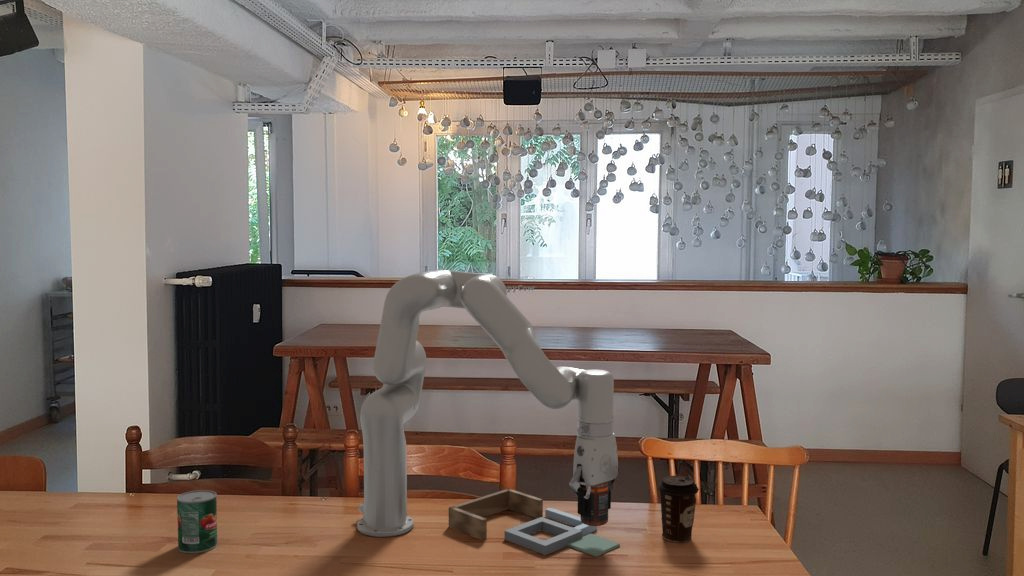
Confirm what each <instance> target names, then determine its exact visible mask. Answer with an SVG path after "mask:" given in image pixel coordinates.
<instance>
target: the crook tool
mask: <svg viewBox="0 0 1024 576" xmlns="http://www.w3.org/2000/svg"><path fill="white" fill-rule="evenodd" d="M544 512H545V513H544V514H545V515H544V516H546V517H545V518H547V519H550V520H551V519H552V520H553V521H557V520H558V521H557V522H560V521H561V522H560V523H563V522H564V523H563V524H566V523H567V524H566V525H568V526H571V525H572V526H571V527H572V528H575V529H578V530H581V531H582V537H584V536H586V535H588V534H592V533H594V532H595V531H597V530H598V528H597V527H598V526H589V525H586V524H583V523H582V522H581V516H578V515H575V514H571V513H568V512H566V511H562V510H561V509H560V510H559V509H557V508H554V507H548V508H545V511H544ZM574 526H575V527H574Z"/></svg>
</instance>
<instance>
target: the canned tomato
mask: <svg viewBox="0 0 1024 576" xmlns="http://www.w3.org/2000/svg"><path fill="white" fill-rule="evenodd" d="M217 496H218V495H217V492H216V491H213V490H207V489H206V490H205V489H196V490H192V491H191V490H190V491H187V492H183V493H180V494H179V495H178V496H177V497H176V502H177V503H176V508H177V510H176V511H177V512H176V513H177V542H178V543H177V544H178V546H177V550H178V552H181V553H183V554H200V553H205V552H209V551H211V550H214V549H215V548H216V547H218V517H217V516H218V509H217V507H218V505H217V503H218V502H217Z"/></svg>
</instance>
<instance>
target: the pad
mask: <svg viewBox="0 0 1024 576" xmlns="http://www.w3.org/2000/svg"><path fill="white" fill-rule="evenodd" d="M566 547H568V548H572V549H574V550H577V551H580V552H582V553H586V554H588V555H591V556H594V557H596V558H597V557H599V556H601V555H603V554H606V553H608V552H610V551H613V550H614V549H617V548H619V547H621V543H620V542H617V541H615V540H611V539H609V538H606V537H603V536H599V535H597V534H594V533H589V534H587V535H584V536H582V537H581V538H579V539H576V540H574V541H572V542H569V543H567V546H566Z"/></svg>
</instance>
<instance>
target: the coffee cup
mask: <svg viewBox="0 0 1024 576" xmlns="http://www.w3.org/2000/svg"><path fill="white" fill-rule="evenodd" d="M661 481H662V482H661V483H660V484H659V486H658V490H659V492H660V493H659V495H660V511H661V526H662V527H661V529H662V532H661V533H662V534H661V538H662V539H664V540H666V541H668V542H672V543H686V542H688V541H690V540H691V539H692V534H693V533H692V532H693V526H694V523H695V522H694V521H695V514H696V513H695V512H696V504H697V498H696V494H697V493H698V492H699V490H700V489H699V487H698V485H697V483H695V480H694V479H693V478H692V477H690V476H682V475H669V476H665V477H663V478H662V479H661Z"/></svg>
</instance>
